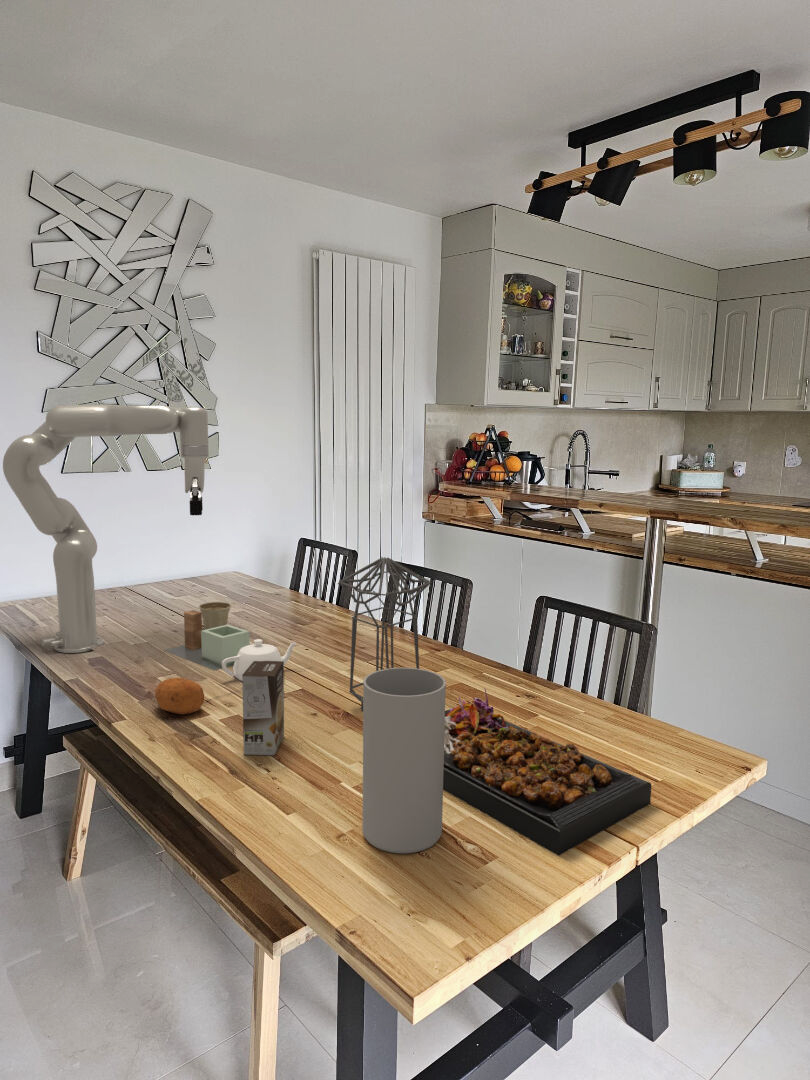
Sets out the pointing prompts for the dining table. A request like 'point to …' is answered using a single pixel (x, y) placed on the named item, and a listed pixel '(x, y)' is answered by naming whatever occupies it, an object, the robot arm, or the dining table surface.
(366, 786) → the cylinder vase
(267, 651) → the teapot
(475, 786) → the food platter
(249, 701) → the coffee box
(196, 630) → the brown wooden block
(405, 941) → the dining table surface
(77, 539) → the robot arm
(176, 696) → the potato
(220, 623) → the flower pot
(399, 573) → the geometric lantern
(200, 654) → the slate board
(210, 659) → the square sage planter
